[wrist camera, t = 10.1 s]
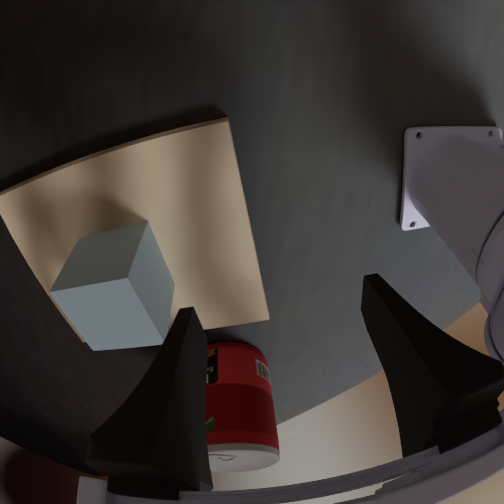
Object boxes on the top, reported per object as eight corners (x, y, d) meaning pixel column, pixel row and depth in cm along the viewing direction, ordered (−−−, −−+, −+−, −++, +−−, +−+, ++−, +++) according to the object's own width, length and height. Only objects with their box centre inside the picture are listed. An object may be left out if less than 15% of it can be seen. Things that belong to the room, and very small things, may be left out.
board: (227, 116, 17) (227, 121, 16) (268, 308, 27) (269, 319, 26) (1, 191, 18) (-7, 199, 17) (86, 332, 28) (83, 342, 27)
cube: (148, 220, 19) (127, 277, 15) (175, 284, 23) (165, 344, 18) (79, 238, 20) (49, 292, 15) (111, 294, 23) (93, 350, 19)
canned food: (200, 332, 28) (197, 446, 19) (280, 346, 30) (297, 451, 21) (182, 373, 32) (179, 468, 23) (251, 384, 34) (260, 473, 25)
